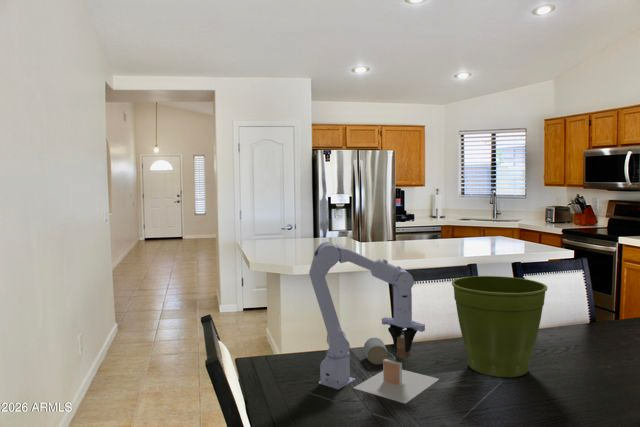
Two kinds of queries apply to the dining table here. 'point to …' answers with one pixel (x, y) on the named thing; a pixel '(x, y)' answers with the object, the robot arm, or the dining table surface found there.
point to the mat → (404, 393)
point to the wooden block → (401, 348)
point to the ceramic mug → (377, 351)
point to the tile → (392, 372)
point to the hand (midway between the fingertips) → (402, 349)
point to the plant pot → (499, 322)
